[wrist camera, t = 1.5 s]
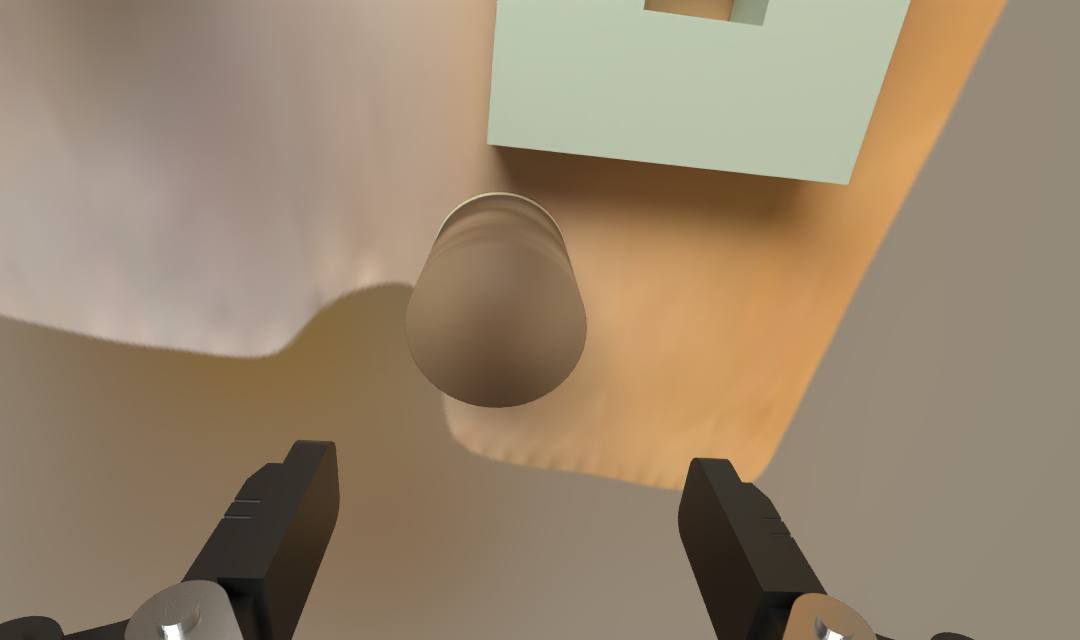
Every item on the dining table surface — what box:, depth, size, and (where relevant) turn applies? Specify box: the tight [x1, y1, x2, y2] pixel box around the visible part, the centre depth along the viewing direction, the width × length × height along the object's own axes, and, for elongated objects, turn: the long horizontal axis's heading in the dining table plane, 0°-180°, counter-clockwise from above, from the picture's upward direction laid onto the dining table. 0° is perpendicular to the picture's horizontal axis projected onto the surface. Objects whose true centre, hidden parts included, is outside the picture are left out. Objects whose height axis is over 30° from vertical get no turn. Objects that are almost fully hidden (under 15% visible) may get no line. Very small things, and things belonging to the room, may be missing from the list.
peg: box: [405, 191, 587, 408], centre depth 23 cm, size 6×6×12 cm
